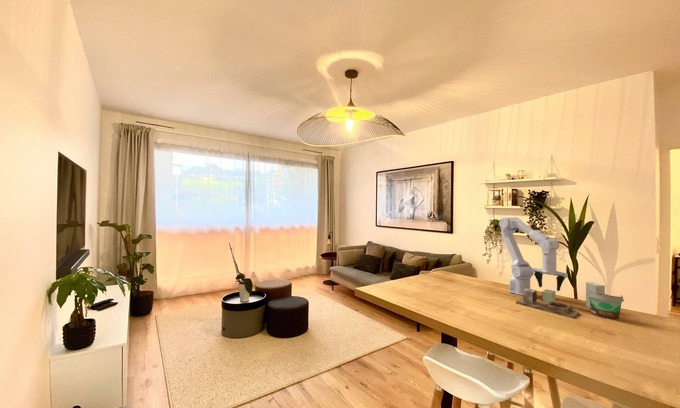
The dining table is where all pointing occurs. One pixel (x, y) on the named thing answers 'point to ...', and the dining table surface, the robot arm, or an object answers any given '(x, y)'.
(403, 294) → the dining table surface
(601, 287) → the skincare box
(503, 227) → the robot arm
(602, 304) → the food container
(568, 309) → the brown fixture base
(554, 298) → the green block
